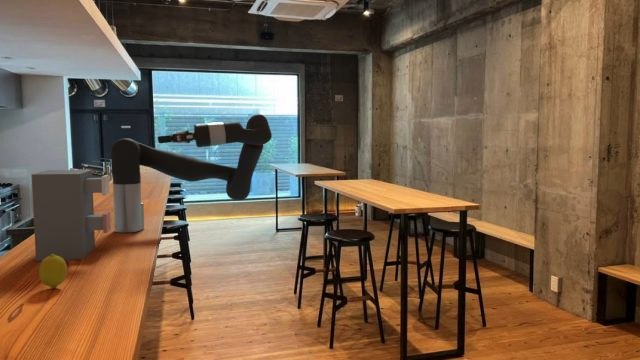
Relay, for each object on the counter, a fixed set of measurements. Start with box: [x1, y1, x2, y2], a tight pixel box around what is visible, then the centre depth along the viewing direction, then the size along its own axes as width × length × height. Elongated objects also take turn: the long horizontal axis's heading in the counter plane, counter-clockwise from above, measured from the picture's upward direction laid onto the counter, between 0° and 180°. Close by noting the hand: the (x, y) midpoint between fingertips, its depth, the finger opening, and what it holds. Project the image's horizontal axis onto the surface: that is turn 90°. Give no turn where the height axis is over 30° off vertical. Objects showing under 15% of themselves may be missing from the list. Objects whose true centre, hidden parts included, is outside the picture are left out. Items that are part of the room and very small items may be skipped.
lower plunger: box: [86, 210, 112, 234], centre depth 136 cm, size 9×6×6 cm, turn 104°
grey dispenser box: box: [31, 169, 96, 262], centre depth 134 cm, size 12×14×24 cm
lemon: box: [38, 254, 68, 289], centre depth 105 cm, size 6×6×8 cm
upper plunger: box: [85, 174, 110, 197], centre depth 135 cm, size 9×6×6 cm, turn 104°
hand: (158, 139), depth 146 cm, fingers open, 8 cm apart
